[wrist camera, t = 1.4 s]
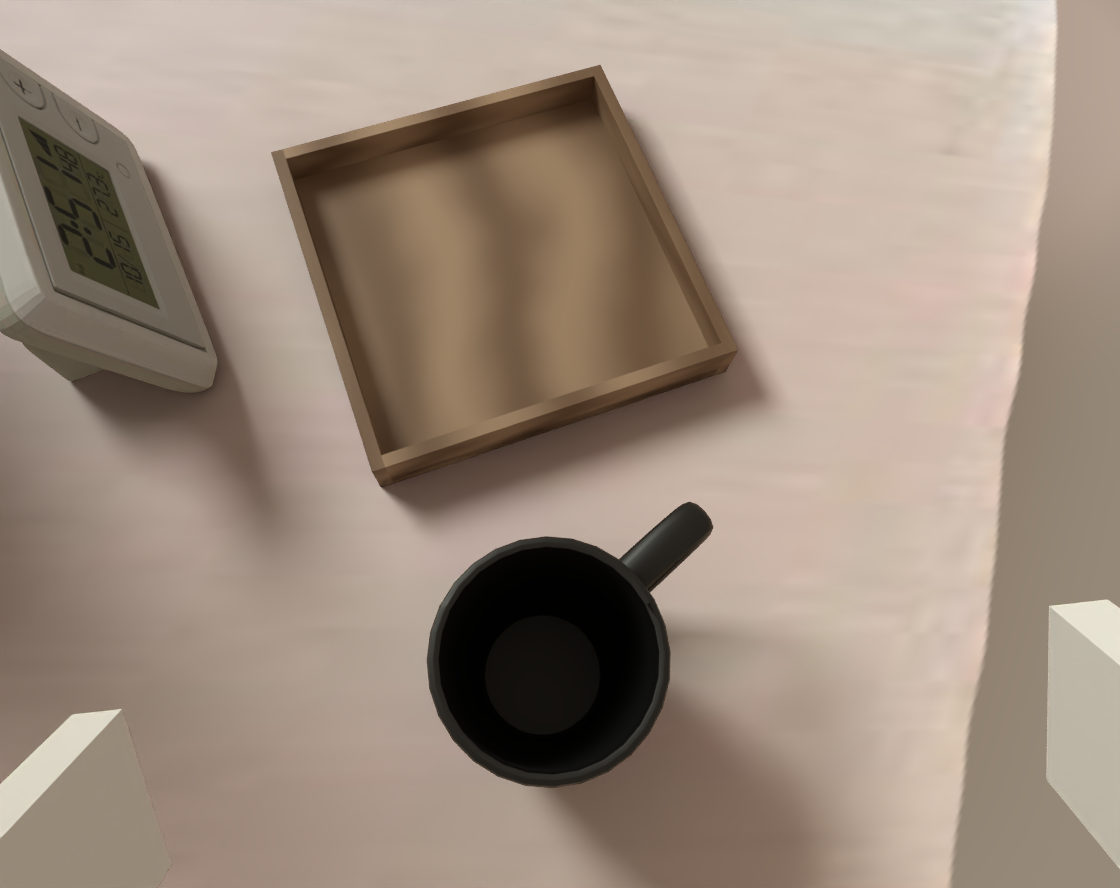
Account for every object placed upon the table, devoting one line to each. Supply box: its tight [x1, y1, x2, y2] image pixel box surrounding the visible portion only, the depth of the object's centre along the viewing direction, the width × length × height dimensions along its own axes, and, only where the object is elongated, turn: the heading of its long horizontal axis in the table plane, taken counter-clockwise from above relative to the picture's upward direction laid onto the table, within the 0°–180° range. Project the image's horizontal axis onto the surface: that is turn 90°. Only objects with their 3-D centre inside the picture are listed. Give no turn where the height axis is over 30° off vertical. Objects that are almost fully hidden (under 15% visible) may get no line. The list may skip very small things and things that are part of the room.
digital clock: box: [0, 49, 218, 393], centre depth 37 cm, size 16×9×11 cm, turn 15°
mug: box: [427, 502, 713, 788], centre depth 33 cm, size 8×12×10 cm
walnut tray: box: [271, 65, 738, 487], centre depth 42 cm, size 18×18×2 cm
